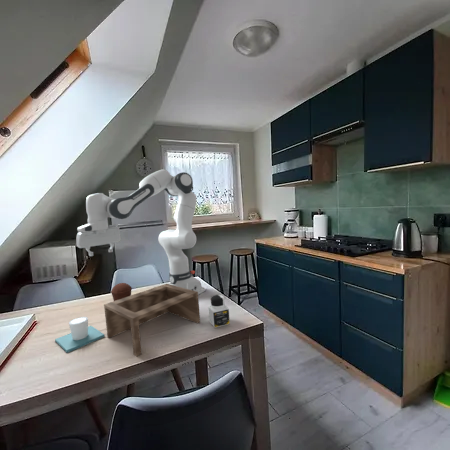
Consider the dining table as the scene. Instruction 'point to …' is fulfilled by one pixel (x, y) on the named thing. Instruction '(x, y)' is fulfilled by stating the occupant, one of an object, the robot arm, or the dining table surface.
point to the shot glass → (79, 328)
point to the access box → (149, 310)
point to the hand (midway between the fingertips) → (101, 254)
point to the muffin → (121, 291)
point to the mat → (70, 344)
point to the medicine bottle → (218, 311)
